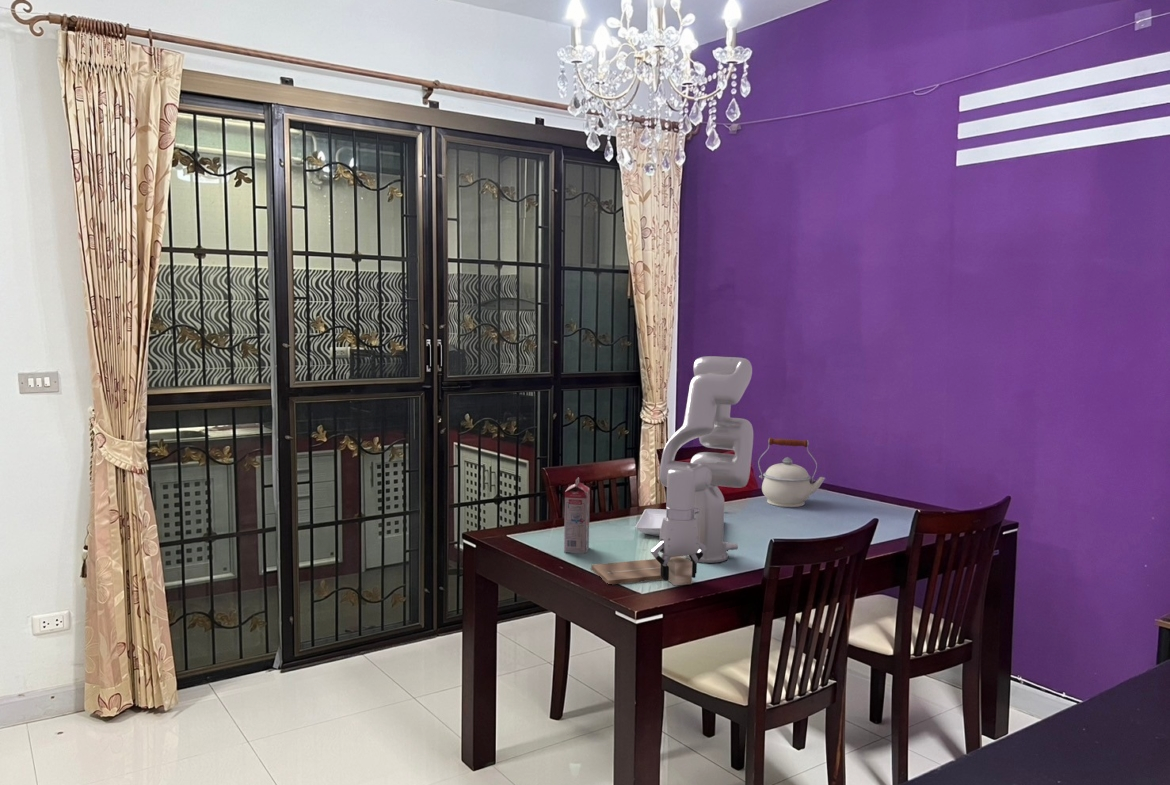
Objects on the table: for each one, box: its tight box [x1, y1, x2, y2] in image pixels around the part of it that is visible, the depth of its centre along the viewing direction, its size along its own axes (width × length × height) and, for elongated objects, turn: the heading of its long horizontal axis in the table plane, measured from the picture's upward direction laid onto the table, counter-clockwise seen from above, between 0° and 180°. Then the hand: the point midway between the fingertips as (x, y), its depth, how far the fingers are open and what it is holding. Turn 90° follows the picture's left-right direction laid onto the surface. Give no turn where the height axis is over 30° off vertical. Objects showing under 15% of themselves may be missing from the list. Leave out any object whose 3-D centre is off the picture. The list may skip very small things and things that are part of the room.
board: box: [590, 558, 664, 585], centre depth 233 cm, size 22×14×1 cm, turn 109°
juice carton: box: [563, 476, 591, 554], centre depth 254 cm, size 7×7×22 cm
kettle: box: [757, 437, 826, 508], centre depth 319 cm, size 25×18×25 cm
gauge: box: [667, 556, 693, 586], centre depth 229 cm, size 5×12×6 cm, turn 19°
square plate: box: [634, 508, 666, 537], centre depth 280 cm, size 27×27×4 cm
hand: (678, 577), depth 226 cm, fingers open, 7 cm apart
